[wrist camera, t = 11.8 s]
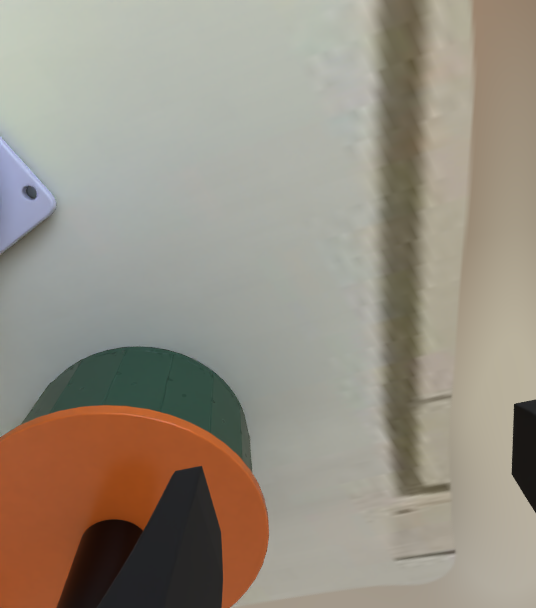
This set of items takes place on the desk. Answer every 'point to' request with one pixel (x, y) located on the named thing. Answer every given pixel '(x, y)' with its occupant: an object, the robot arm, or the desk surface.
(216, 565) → the robot arm
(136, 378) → the tin
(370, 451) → the desk surface
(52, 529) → the lid
